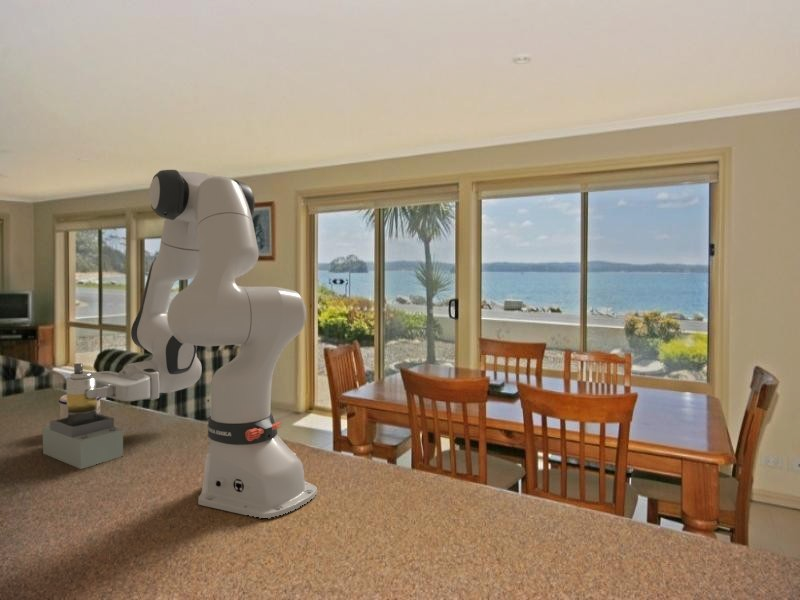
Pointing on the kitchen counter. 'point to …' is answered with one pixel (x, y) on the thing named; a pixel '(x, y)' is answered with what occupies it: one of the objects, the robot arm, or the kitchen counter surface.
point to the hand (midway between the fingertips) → (77, 391)
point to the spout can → (80, 397)
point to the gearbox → (83, 441)
